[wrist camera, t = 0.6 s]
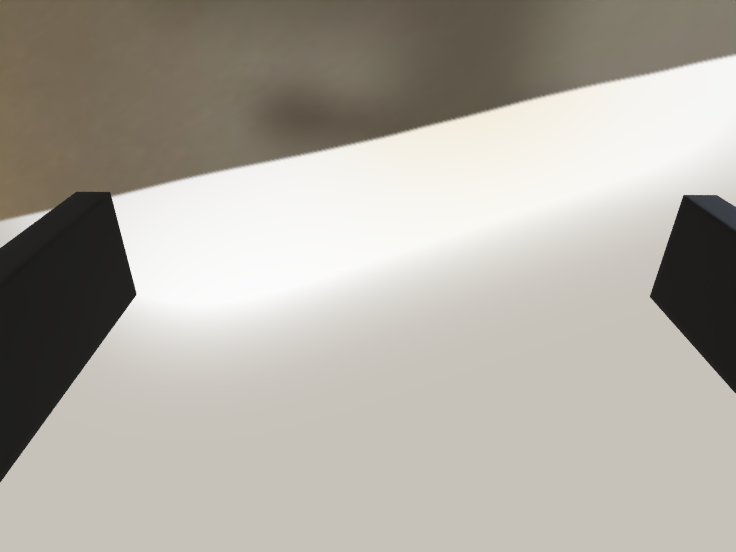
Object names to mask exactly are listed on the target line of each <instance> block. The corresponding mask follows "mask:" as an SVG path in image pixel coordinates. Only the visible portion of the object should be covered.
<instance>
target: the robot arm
mask: <svg viewBox="0 0 736 552" xmlns="http://www.w3.org/2000/svg"><path fill="white" fill-rule="evenodd" d="M135 296H136V291H135V287H134V283H133V279H132V275H131V272H130V268H129V264H128V260H127V256H126V252H125V249H124V244H123V240H122V236H121V233H120V229H119V225H118V221H117V217H116V213H115V209H114V205H113V201H112V198H111V194H110V192H76V193H74V194H73V195H72V196H70V197H69V198H67V199H66V200H65V201H63V202H62V203H61V204H59V205H58V206H57V207H55V208H54V209H53V210H51V211H50V212H49V213H47V214H46V215H45V216H43V217H42V218H41V219H39V220H38V221H37V222H35V223H34V224H33V225H31V226H30V227H28V228H27V229H26V230H24V231H23V232H22V233H20V234H19V235H18V236H16V237H15V238H13V239H12V240H11V241H9V242H8V243H7V244H5V245H4V246H3V247H1V248H0V482H1V481H2V479H3V478H4V477H5V475H6V474H7V472H8V471H9V469H10V468H11V467H12V465H13V464H14V463H15V461H16V460H17V459H18V457H19V456H20V454H21V453H22V451H23V450H24V449H25V448H26V446H27V445H28V443H29V442H30V441H31V439H32V438H33V436H34V435H35V434H36V432H37V431H38V430H39V428H40V427H41V425H42V424H43V423H44V421H45V420H46V418H47V417H48V416H49V414H50V413H51V412H52V410H53V409H54V408H55V406H56V405H57V403H58V402H59V401H60V399H61V398H62V397H63V395H64V394H65V392H66V391H67V390H68V388H69V387H70V385H71V384H72V383H73V381H74V380H75V379H76V377H77V376H78V374H79V373H80V372H81V370H82V369H83V367H84V366H85V364H86V363H87V362H88V361H89V359H90V358H91V356H92V355H93V354H94V352H95V351H96V350H97V348H98V347H99V345H100V344H101V343H102V341H103V340H104V339H105V337H106V336H107V334H108V333H109V332H110V330H111V329H112V328H113V326H114V325H115V323H116V322H117V321H118V319H119V318H120V317H121V315H122V314H123V312H124V311H125V310H126V308H127V307H128V306H129V304H130V303H131V301H132V300H133V299H134V297H135ZM650 297H651V298H652V300H653V301H654V302H655V303H656V304H657V305H658V306H659V308H660V309H661V310H662V311H663V312H664V313H665V314H666V315H667V317H668V318H669V319H670V320H671V321H672V322H673V323H674V324H675V325H676V327H677V328H678V329H679V330H680V331H681V332H682V333H683V335H684V336H685V337H686V338H687V339H688V340H689V341H690V343H691V344H692V345H693V346H694V347H695V348H696V349H697V350H698V352H699V353H700V354H701V355H702V356H703V357H704V358H705V359H706V361H707V362H708V363H709V364H710V365H711V366H712V367H713V368H714V370H715V371H716V372H717V373H718V374H719V375H720V376H721V377H722V379H723V380H724V381H725V382H726V383H727V384H728V385H729V386H730V388H731V389H732V390H733V391H734V392H735V393H736V207H735V206H733V205H732V204H730V203H728V202H726V201H725V200H723V199H722V198H720V197H719V196H717V195H684V196H683V199H682V202H681V205H680V208H679V211H678V214H677V217H676V220H675V223H674V226H673V229H672V232H671V235H670V238H669V241H668V244H667V247H666V250H665V253H664V256H663V259H662V262H661V265H660V268H659V271H658V274H657V277H656V280H655V283H654V286H653V289H652V292H651V295H650Z"/></svg>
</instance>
